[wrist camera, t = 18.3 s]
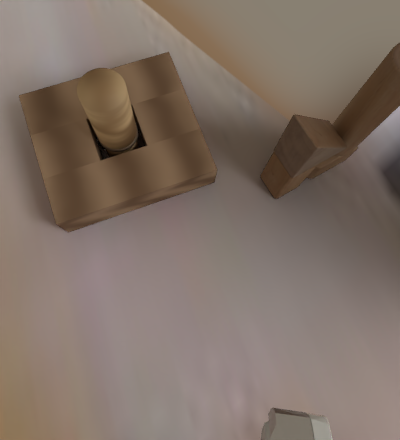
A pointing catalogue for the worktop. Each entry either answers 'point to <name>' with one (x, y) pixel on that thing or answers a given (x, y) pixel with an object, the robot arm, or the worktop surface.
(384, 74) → the wooden braced stand
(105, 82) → the peg
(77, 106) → the board
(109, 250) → the worktop surface
